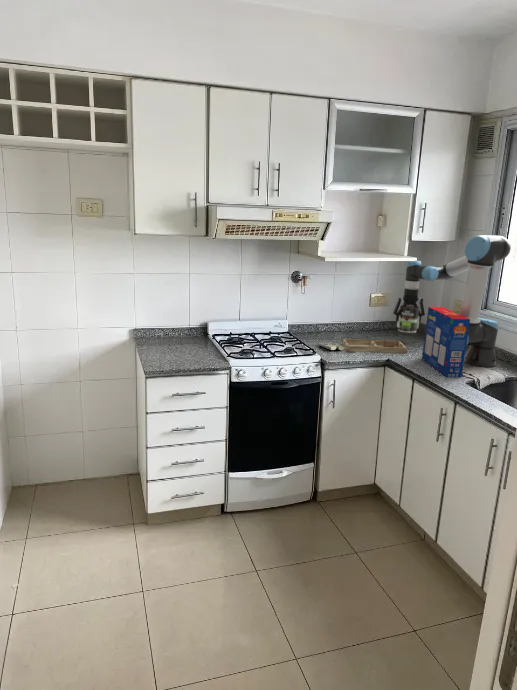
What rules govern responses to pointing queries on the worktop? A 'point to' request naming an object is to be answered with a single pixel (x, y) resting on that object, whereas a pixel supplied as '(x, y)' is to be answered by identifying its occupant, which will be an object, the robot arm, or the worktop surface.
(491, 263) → the robot arm
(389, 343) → the walnut cube
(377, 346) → the wooden organizer
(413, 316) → the coffee can
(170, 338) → the worktop surface
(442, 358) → the blue cardboard box
